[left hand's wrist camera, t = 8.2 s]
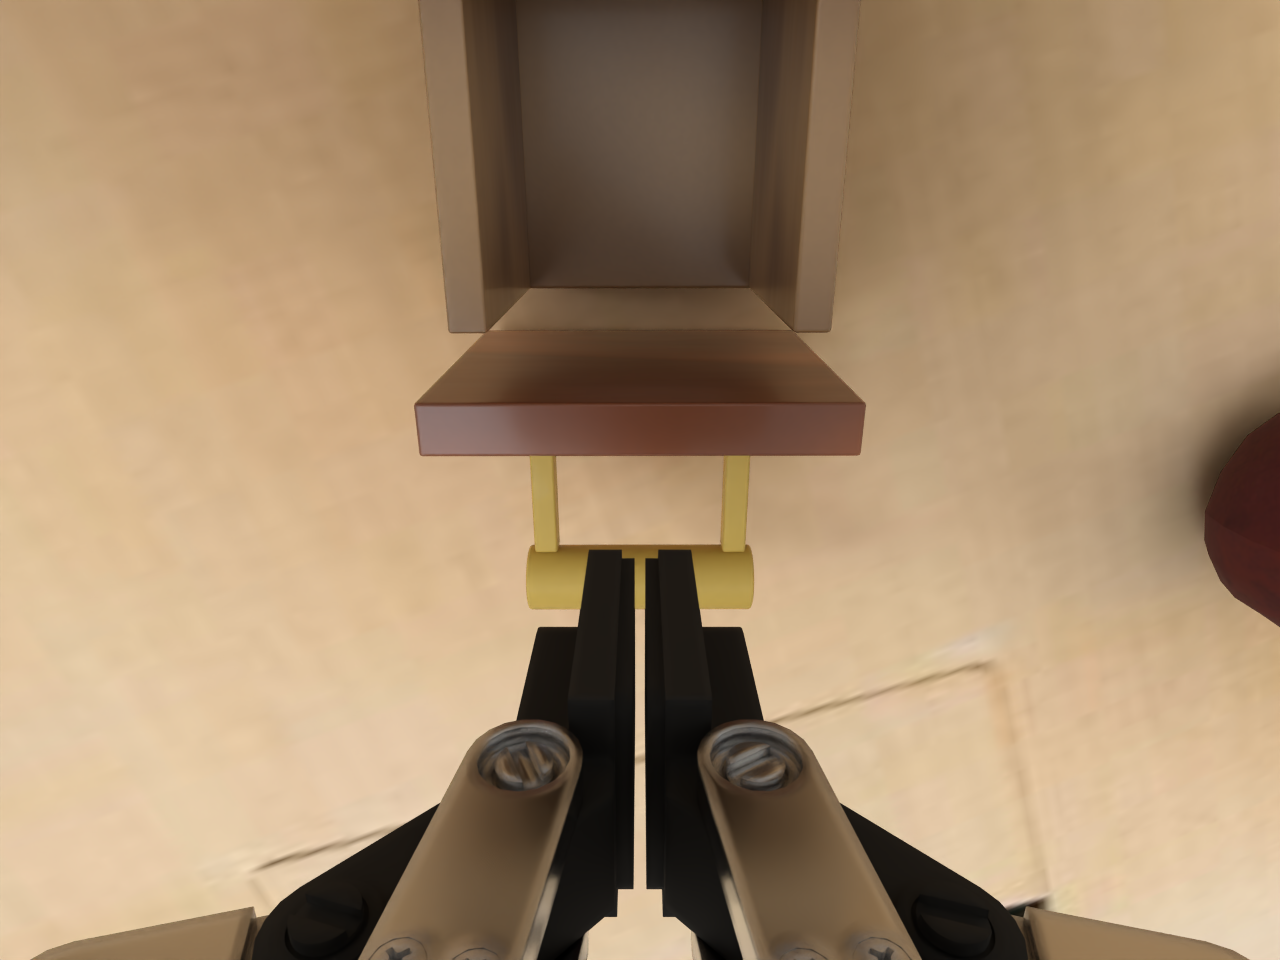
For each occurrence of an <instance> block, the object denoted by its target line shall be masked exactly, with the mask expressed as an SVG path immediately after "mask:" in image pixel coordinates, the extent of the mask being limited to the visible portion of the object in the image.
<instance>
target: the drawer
mask: <svg viewBox="0 0 1280 960" xmlns="http://www.w3.org/2000/svg"><path fill="white" fill-rule="evenodd" d="M860 2H861V0H418V4H419V15H420V26H421V36H422V47H423V58H424V69H425V80H426V91H427V102H428V113H429V124H430V134H431V145H432V156H433V167H434V178H435V189H436V200H437V211H438V222H439V233H440V243H441V254H442V265H443V276H444V287H445V298H446V309H447V320H448V330H449V332H450V333H484V334H483V335H482V336H481V337H480V338H479V339H478V340H477V341H476V342H475V343H474V344H473V345H472V346H471V347H470V348H469V349H468V350H467V351H466V352H465V353H464V354H463V355H462V356H461V357H460V358H459V359H458V361H457V362H456V363H455V364H454V365H453V366H452V367H451V368H450V369H449V370H448V371H447V372H446V373H445V374H444V375H443V376H442V377H441V378H440V379H439V380H438V381H437V382H436V383H435V384H434V385H433V386H432V387H431V388H430V389H429V390H428V391H427V392H426V393H425V394H424V395H423V396H422V397H421V398H420V399H419V400H418V401H417V402H416V403H415V405H414V409H415V418H416V427H417V435H418V444H419V453H420V455H421V456H530V469H531V487H532V504H533V522H534V540H535V545H532V546H531V547H530V549H529V552H528V558H527V568H526V592H527V601H528V605H529V608H530V609H580V608H581V601H582V594H583V587H584V580H585V573H586V566H587V559H588V552H589V550H622V558H635V609H645V558H658V550H691V552H692V559H693V566H694V573H695V580H696V587H697V594H698V601H699V608H700V609H749V608H751V605H752V602H753V595H754V566H753V557H752V551H751V548H750V546H749V545H745V540H746V522H747V504H748V486H749V467H750V456H857V455H860V453H861V444H862V435H863V426H864V417H865V408H866V404H865V402H864V401H863V400H862V399H861V398H860V397H859V396H858V395H857V394H856V393H855V392H854V391H853V390H852V389H851V388H850V387H849V386H848V385H847V384H846V383H845V382H844V381H843V380H842V379H841V378H840V377H839V376H838V375H837V374H836V373H835V372H834V371H833V370H831V369H830V368H829V367H828V366H827V365H826V364H825V363H824V362H823V361H822V360H821V359H820V358H819V357H818V356H817V355H816V354H815V353H814V352H813V351H812V350H811V349H810V348H809V347H808V346H807V345H806V344H805V343H804V342H803V341H802V340H801V339H800V338H799V337H798V336H797V335H796V334H795V333H794V332H796V333H800V332H829V331H830V330H831V325H832V314H833V303H834V291H835V280H836V269H837V258H838V247H839V236H840V225H841V214H842V202H843V191H844V180H845V169H846V158H847V147H848V136H849V124H850V113H851V102H852V91H853V80H854V69H855V58H856V47H857V35H858V24H859V13H860ZM530 288H750V289H751V290H752V291H753V292H754V293H755V294H756V295H757V296H758V297H759V298H760V299H761V300H762V301H763V302H764V303H765V304H766V305H767V306H768V307H769V308H770V309H771V310H772V311H774V312H775V313H776V314H777V315H778V316H779V317H780V318H781V319H782V320H783V321H784V322H785V323H786V324H787V325H788V326H789V327H790V328H791V329H792V330H793V331H794V332H793V331H792V330H606V331H488V330H489V329H490V328H491V327H492V326H493V325H494V324H495V323H496V322H497V321H498V320H499V319H500V318H501V317H502V316H503V315H504V314H505V313H506V312H507V311H508V310H509V309H510V308H511V307H512V306H513V305H514V304H515V303H516V302H517V301H518V300H519V299H520V298H521V297H522V296H523V295H524V294H525V293H526V292H527V291H528V290H529V289H530ZM556 456H724V467H723V492H722V516H721V540H720V542H721V545H559V542H560V539H559V516H558V493H557V470H556Z"/></svg>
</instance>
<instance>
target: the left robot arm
mask: <svg viewBox="0 0 1280 960" xmlns="http://www.w3.org/2000/svg"><path fill="white" fill-rule="evenodd" d="M634 779H635V558H622V550H589V552H588V559H587V566H586V573H585V580H584V587H583V594H582V601H581V608H580V615H579V622H578V627H539V628H538V630H537V633H536V638H535V642H534V646H533V651H532V655H531V659H530V664H529V668H528V672H527V677H526V681H525V685H524V690H523V694H522V698H521V703H520V707H519V711H518V716H517V720H516V721H513V722H508V723H504V724H502V725H500V726H497V727H495V728H493V729H490V730H489V731H487V732H486V733H485V734H483V735H482V736H481V737H479V738H478V739H476V741H475V742H474V743H473V745H472V746H471V747H470V749H469V750H468V751H467V753H466V755H465V757H464V759H463V761H462V763H461V764H460V766H459V768H458V770H457V772H456V774H455V776H454V778H453V780H452V782H451V784H450V785H449V787H448V789H447V791H446V793H445V795H444V797H443V799H442V801H441V803H439V804H437V805H436V806H434V807H432V808H431V809H429V810H427V811H426V812H424V813H422V814H421V815H419V816H418V817H416V818H414V819H413V820H411V821H409V822H408V823H406V824H404V825H403V826H401V827H399V828H398V829H396V830H394V831H393V832H391V833H389V834H388V835H386V836H384V837H383V838H381V839H379V840H378V841H376V842H374V843H373V844H371V845H369V846H368V847H366V848H364V849H363V850H361V851H359V852H358V853H356V854H354V855H353V856H351V857H349V858H348V859H346V860H344V861H343V862H341V863H340V864H338V865H336V866H335V867H333V868H331V869H330V870H328V871H326V872H325V873H323V874H321V875H320V876H318V877H316V878H315V879H313V880H311V881H310V882H308V883H306V884H305V885H303V886H301V887H300V888H298V889H297V890H296V891H294V892H293V893H292V894H290V895H289V896H288V897H286V898H285V899H284V900H282V901H281V902H280V903H279V904H278V905H277V906H276V908H275V909H274V910H273V911H272V912H271V913H270V914H269V915H267V916H262V917H257V918H256V914H255V910H254V907H249V908H244V909H239V910H233V911H228V912H223V913H218V914H213V915H208V916H203V917H197V918H192V919H187V920H182V921H177V922H172V923H167V924H161V925H156V926H151V927H146V928H141V929H136V930H131V931H125V932H120V933H115V934H110V935H105V936H100V937H95V938H90V939H84V940H79V941H74V942H71V943H68V944H65V945H62V946H59V947H56V948H53V949H50V950H47V951H45V952H43V953H41V954H40V955H38V956H36V957H34V958H33V959H31V960H587V957H588V946H589V930H590V929H591V928H592V927H593V926H594V925H596V924H597V923H598V922H599V921H600V920H602V919H603V918H604V917H617V902H618V889H633V885H634ZM645 779H646V885H647V889H662V902H663V917H676V918H677V919H678V920H680V921H681V922H682V923H683V924H684V925H686V926H687V927H688V928H689V929H690V930H691V946H692V957H693V960H1249V959H1247V958H1246V957H1244V956H1242V955H1240V954H1239V953H1237V952H1235V951H1233V950H1230V949H1227V948H1224V947H1221V946H1218V945H1215V944H1212V943H1209V942H1206V941H1201V940H1196V939H1190V938H1185V937H1180V936H1175V935H1170V934H1165V933H1160V932H1155V931H1149V930H1144V929H1139V928H1134V927H1129V926H1124V925H1119V924H1113V923H1108V922H1103V921H1098V920H1093V919H1088V918H1083V917H1077V916H1072V915H1067V914H1062V913H1057V912H1052V911H1047V910H1041V909H1036V908H1031V907H1026V910H1025V914H1024V918H1023V917H1018V916H1013V915H1011V914H1010V913H1009V912H1008V911H1007V910H1006V909H1005V908H1004V906H1003V905H1002V904H1001V903H1000V902H999V901H998V900H996V899H995V898H994V897H992V896H991V895H990V894H988V893H987V892H986V891H984V890H983V889H982V888H980V887H979V886H977V885H975V884H974V883H972V882H970V881H969V880H967V879H965V878H964V877H962V876H960V875H959V874H957V873H955V872H954V871H952V870H950V869H949V868H947V867H945V866H944V865H942V864H940V863H939V862H937V861H936V860H934V859H932V858H931V857H929V856H927V855H926V854H924V853H922V852H921V851H919V850H917V849H916V848H914V847H912V846H911V845H909V844H907V843H906V842H904V841H902V840H901V839H899V838H897V837H896V836H894V835H892V834H891V833H889V832H887V831H886V830H884V829H882V828H881V827H879V826H877V825H876V824H874V823H872V822H871V821H869V820H867V819H866V818H864V817H862V816H861V815H859V814H858V813H856V812H854V811H853V810H851V809H849V808H848V807H846V806H844V805H843V804H841V803H839V801H838V799H837V797H836V795H835V793H834V791H833V789H832V787H831V785H830V784H829V782H828V780H827V778H826V776H825V774H824V772H823V770H822V768H821V766H820V764H819V763H818V761H817V759H816V757H815V755H814V753H813V751H812V750H811V749H810V747H809V746H808V745H807V743H806V742H805V741H804V739H802V738H801V737H799V736H798V735H797V734H795V733H794V732H793V731H791V730H790V729H787V728H785V727H783V726H780V725H778V724H776V723H772V722H767V721H764V720H763V716H762V711H761V707H760V703H759V698H758V694H757V690H756V685H755V681H754V677H753V672H752V668H751V664H750V659H749V655H748V651H747V646H746V642H745V638H744V633H743V630H742V628H741V627H702V622H701V615H700V608H699V601H698V594H697V587H696V580H695V573H694V566H693V559H692V552H691V550H658V558H645Z"/></svg>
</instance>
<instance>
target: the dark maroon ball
mask: <svg viewBox="0 0 1280 960" xmlns="http://www.w3.org/2000/svg"><path fill="white" fill-rule="evenodd" d="M1205 544H1206V547H1207V551H1208V554H1209V557H1210V559H1211V561H1212V563H1213V565H1214V568H1215V570H1216V572H1217V574H1218V576H1219V579H1220V581H1221V582H1222V583H1223V584H1224V585H1225V587H1226V588H1227V589H1228V590H1229V591H1230V592H1231V594H1232V595H1233V596H1234V597H1235V598H1236V599H1238V600H1240V601H1241V602H1243V603H1244V604H1246V605H1248V606H1249V607H1251V608H1252V609H1254V610H1255V611H1257V612H1259V613H1260V614H1262V615H1263V616H1265V617H1266V618H1267V619H1269V620H1270V621H1272V622H1273V623H1275V624H1276V625H1278V626H1279V627H1280V413H1278V414H1277V415H1275V416H1274V417H1272V418H1271V419H1270V420H1268V421H1267V422H1265V423H1264V424H1263V425H1261V426H1260V427H1259V428H1257V429H1256V430H1254V431H1253V432H1252V433H1250V434H1249V435H1247V437H1246V438H1245V439H1244V441H1243V442H1242V444H1241V445H1240V446H1239V448H1238V449H1237V450H1236V452H1235V453H1234V455H1233V456H1232V457H1231V459H1230V460H1229V461H1228V463H1227V464H1226V465H1225V467H1224V468H1223V470H1222V471H1221V473H1220V476H1219V478H1218V481H1217V483H1216V486H1215V488H1214V491H1213V493H1212V496H1211V498H1210V501H1209V503H1208V506H1207V508H1206V511H1205Z"/></svg>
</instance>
